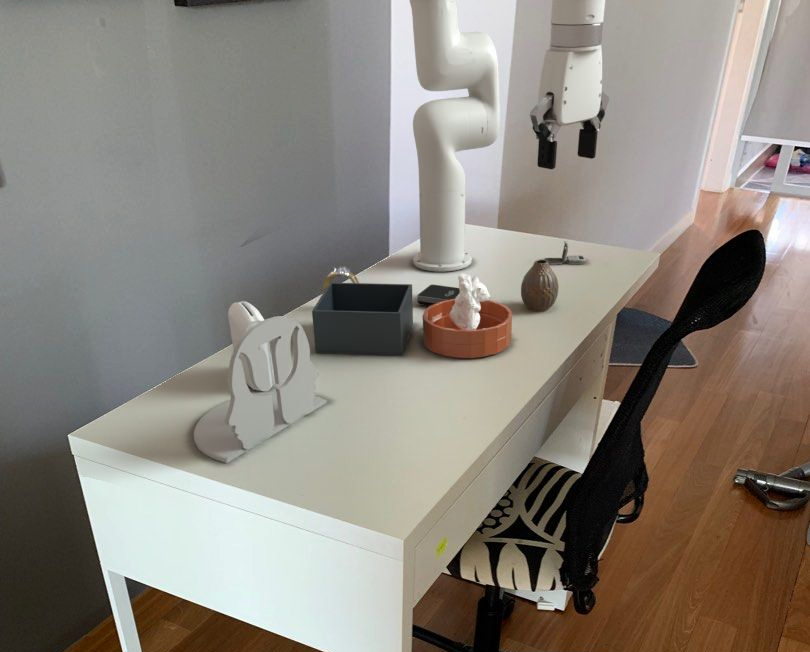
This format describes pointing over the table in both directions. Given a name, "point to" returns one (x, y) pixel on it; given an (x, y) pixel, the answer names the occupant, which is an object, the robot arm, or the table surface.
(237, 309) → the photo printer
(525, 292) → the vase
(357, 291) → the bin
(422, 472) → the table surface
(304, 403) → the ornament
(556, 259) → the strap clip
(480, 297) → the koala figurine
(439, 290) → the external hard drive
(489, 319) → the bowl
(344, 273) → the ring
